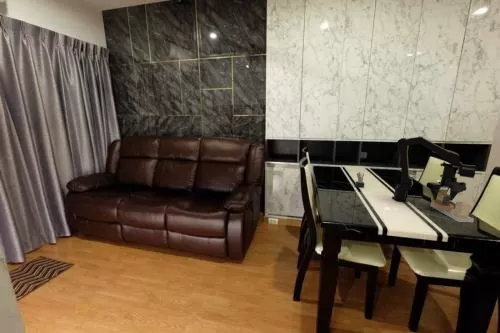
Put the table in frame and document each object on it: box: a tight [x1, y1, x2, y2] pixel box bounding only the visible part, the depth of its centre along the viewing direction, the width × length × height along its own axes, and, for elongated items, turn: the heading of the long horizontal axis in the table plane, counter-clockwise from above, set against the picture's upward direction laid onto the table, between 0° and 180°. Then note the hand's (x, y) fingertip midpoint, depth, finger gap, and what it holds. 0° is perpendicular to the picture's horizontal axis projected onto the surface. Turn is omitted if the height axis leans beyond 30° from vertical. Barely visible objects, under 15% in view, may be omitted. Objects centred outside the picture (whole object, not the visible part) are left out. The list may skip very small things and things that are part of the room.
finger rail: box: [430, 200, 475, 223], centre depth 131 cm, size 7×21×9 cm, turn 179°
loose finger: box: [436, 193, 450, 205], centre depth 137 cm, size 4×5×7 cm
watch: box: [354, 171, 365, 189], centre depth 174 cm, size 6×8×11 cm
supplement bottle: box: [430, 180, 449, 202], centre depth 149 cm, size 7×7×13 cm
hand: (442, 200), depth 137 cm, fingers open, 9 cm apart
